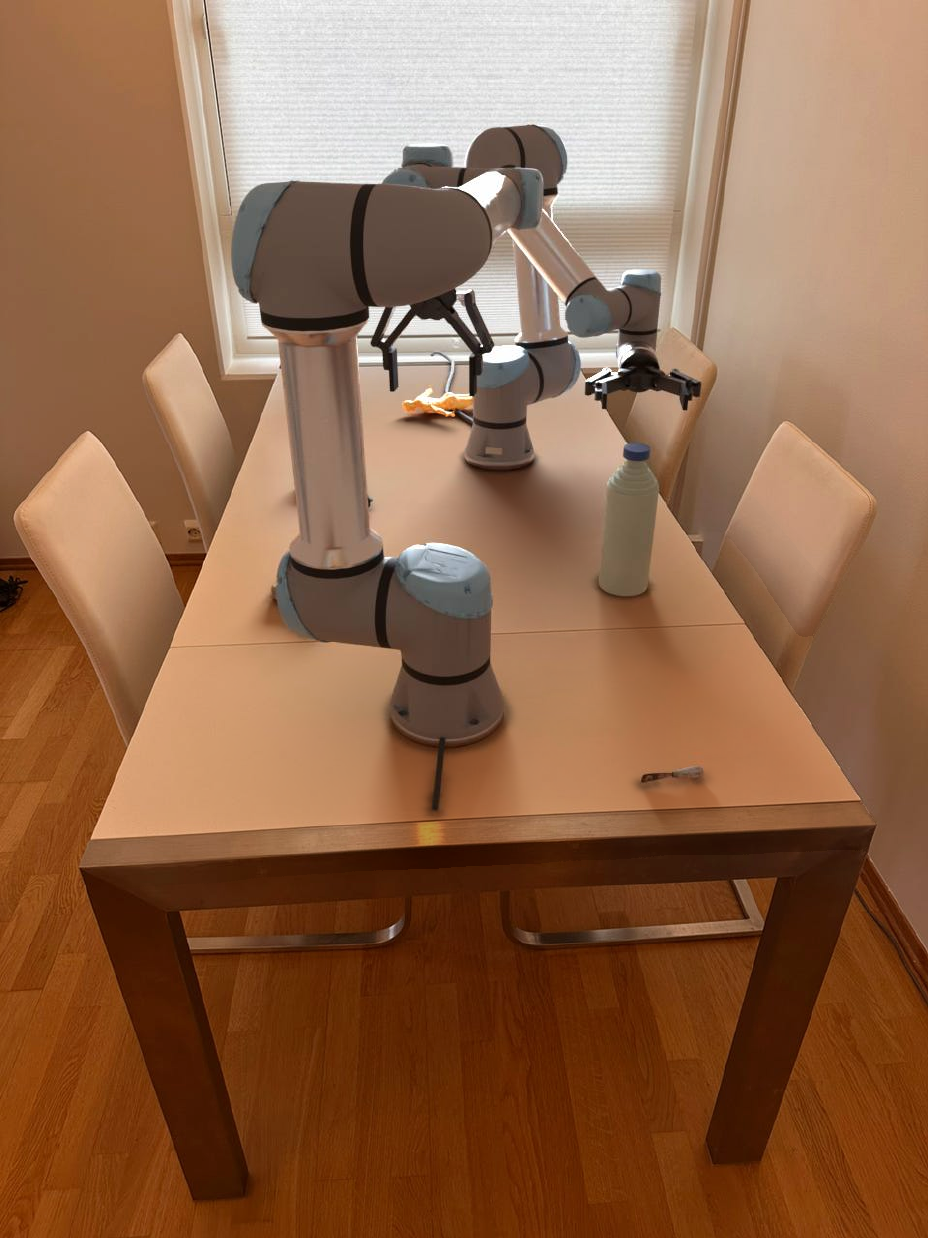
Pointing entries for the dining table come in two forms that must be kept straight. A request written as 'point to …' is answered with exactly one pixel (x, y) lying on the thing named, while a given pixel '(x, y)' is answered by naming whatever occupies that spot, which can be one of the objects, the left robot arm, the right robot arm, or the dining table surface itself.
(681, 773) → the putty knife
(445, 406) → the human figure
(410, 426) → the dining table surface
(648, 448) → the cap
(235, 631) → the dining table surface
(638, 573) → the bottle
